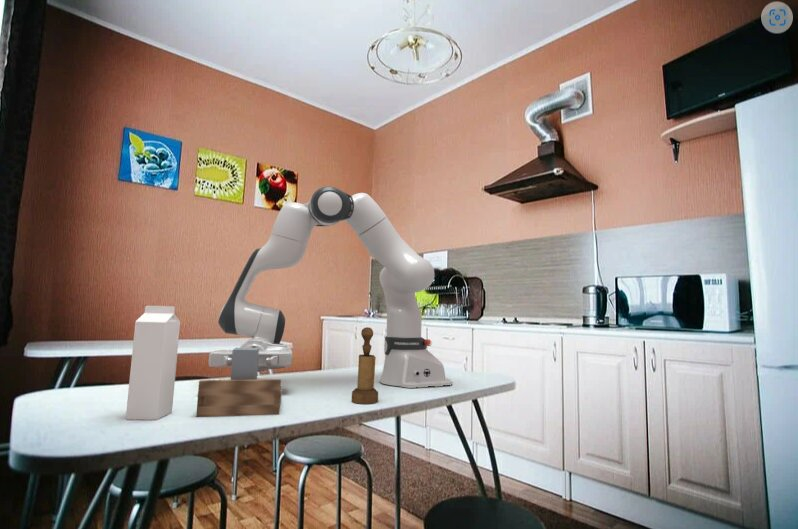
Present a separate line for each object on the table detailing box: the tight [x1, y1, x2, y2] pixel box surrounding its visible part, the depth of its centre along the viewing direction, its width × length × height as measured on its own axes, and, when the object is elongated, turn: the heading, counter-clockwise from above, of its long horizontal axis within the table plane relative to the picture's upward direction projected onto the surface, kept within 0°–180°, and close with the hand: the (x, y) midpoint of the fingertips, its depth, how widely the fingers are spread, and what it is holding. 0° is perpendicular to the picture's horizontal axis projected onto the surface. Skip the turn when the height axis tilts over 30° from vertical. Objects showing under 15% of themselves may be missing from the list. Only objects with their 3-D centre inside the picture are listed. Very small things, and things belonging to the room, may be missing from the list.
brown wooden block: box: [195, 378, 283, 418], centre depth 92 cm, size 16×16×7 cm
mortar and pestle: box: [351, 327, 379, 405], centre depth 101 cm, size 7×6×18 cm
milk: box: [125, 305, 181, 421], centre depth 83 cm, size 6×6×22 cm
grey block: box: [230, 347, 259, 380], centre depth 90 cm, size 5×5×11 cm
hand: (249, 362), depth 98 cm, fingers open, 8 cm apart
